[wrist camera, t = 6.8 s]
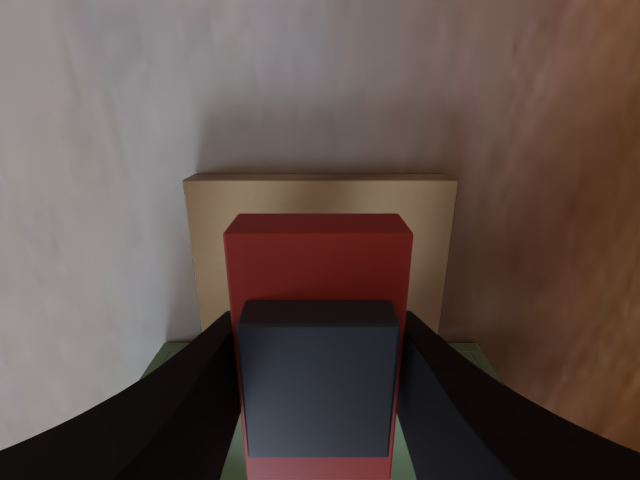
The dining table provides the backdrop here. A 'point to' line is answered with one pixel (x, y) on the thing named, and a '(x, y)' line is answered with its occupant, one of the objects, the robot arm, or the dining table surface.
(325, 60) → the dining table surface
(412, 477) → the crate
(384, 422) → the toy car
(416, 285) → the stand
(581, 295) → the dining table surface
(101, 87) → the dining table surface
